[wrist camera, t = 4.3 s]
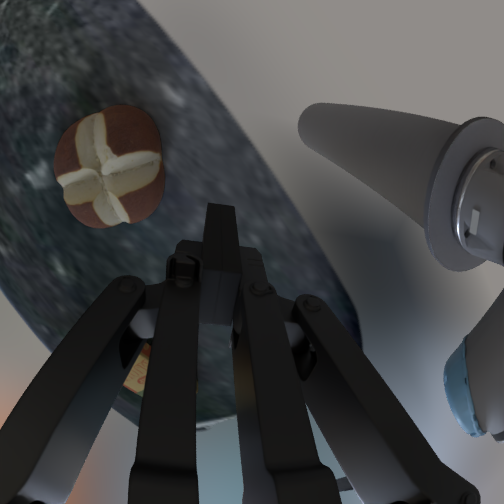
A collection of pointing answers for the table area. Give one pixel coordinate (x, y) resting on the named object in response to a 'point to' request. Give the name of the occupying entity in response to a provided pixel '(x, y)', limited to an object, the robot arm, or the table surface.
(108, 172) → the bread
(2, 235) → the table surface
